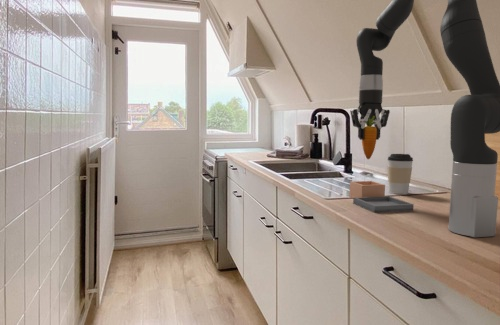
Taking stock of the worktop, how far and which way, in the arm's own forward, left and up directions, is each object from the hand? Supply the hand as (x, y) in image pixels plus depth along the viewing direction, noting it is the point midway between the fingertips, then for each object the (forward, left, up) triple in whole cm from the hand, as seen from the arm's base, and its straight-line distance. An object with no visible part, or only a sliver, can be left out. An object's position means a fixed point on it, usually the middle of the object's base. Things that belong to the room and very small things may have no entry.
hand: (369, 139), depth 132 cm
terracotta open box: (0, 0, -21) cm, 21 cm away
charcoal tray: (-13, +2, -21) cm, 24 cm away
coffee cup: (+8, -18, -21) cm, 29 cm away
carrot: (0, 0, -7) cm, 7 cm away
